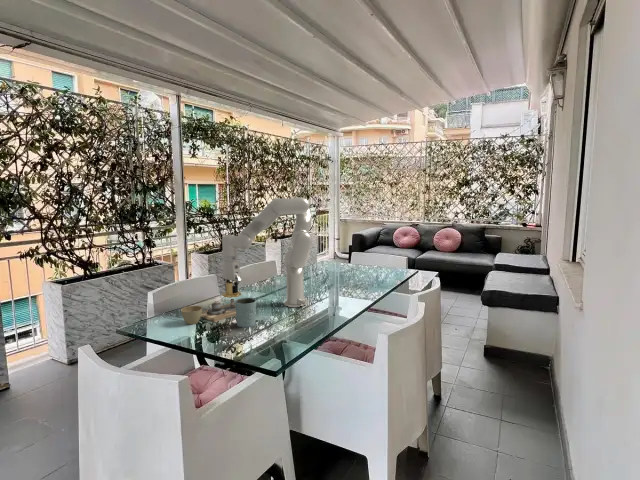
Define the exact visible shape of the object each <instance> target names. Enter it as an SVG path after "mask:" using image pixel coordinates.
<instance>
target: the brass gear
mask: <svg viewBox="0 0 640 480" xmlns="http://www.w3.org/2000/svg"><path fill="white" fill-rule="evenodd" d="M235 282H236V281H234V283H235ZM232 286H233V283H232V281H231V280H230V282H226V288H225V292H223V293H222V294H221V295H222V297H223V298H229V299H233V298H239V296H242V292H241V291H240V290H238V293H234V294H233V293H232Z"/></svg>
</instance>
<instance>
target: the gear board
mask: <svg viewBox="0 0 640 480" xmlns="http://www.w3.org/2000/svg"><path fill="white" fill-rule="evenodd" d="M229 301H230V302H229V303H227V304H224V305H221V302H219V301H217V300H216V301H214V302H213V303H212V304H211V308H208V309H206V310H202V314H201V317H200V318H203V319H205V320H208V321H212V322H218V321H222V320H224V319H227V318H232V317H234V316H236V307H235V299H234V298H230V300H229Z"/></svg>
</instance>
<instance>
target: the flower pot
mask: <svg viewBox="0 0 640 480" xmlns="http://www.w3.org/2000/svg"><path fill="white" fill-rule="evenodd" d="M202 311H203V307H202V306H199V305H187V306H185V307H182V308H181V309H180V312H181V316H182V318H183V320H184V322H185V323H186V324H187V325H197V324H198V323H199V322H200V319H201V318H202V317H201V314H202Z"/></svg>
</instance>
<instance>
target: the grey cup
mask: <svg viewBox="0 0 640 480" xmlns="http://www.w3.org/2000/svg"><path fill="white" fill-rule="evenodd" d="M234 302H235V307H236V315H235V316H236V326H237V327H238V328H247V329H248V328H251V327H254V326H255V325H256V314H257V311H256V310H257V299H256V298H253V297H240V298H237V299H234Z"/></svg>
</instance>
